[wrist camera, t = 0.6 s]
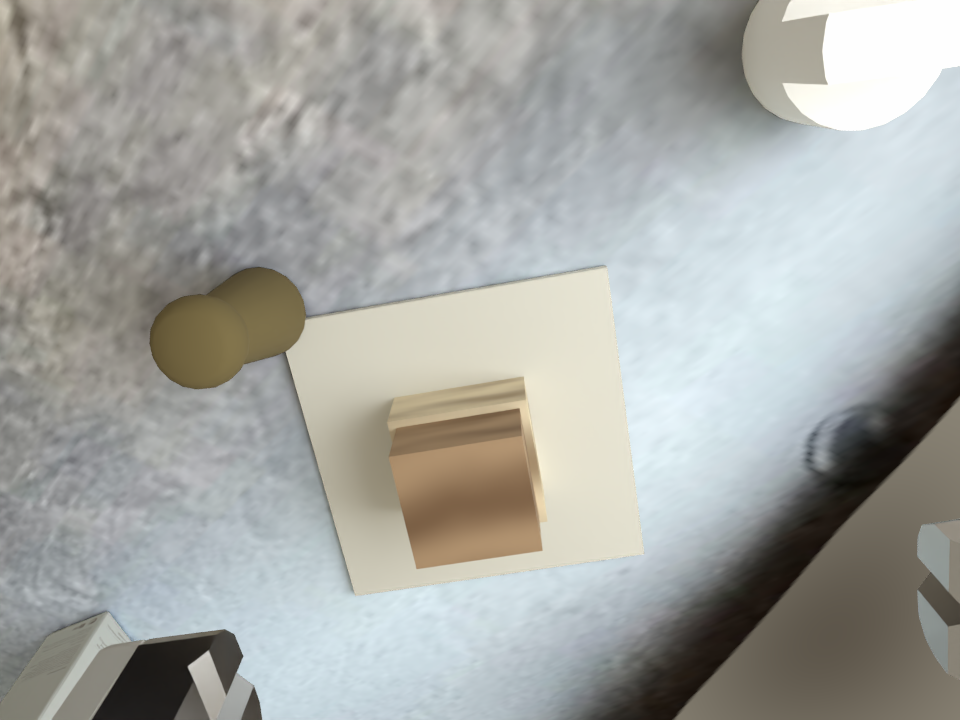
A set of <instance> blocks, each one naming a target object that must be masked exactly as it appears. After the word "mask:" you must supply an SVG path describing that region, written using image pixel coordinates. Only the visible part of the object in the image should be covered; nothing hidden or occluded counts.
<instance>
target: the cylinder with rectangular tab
mask: <svg viewBox="0 0 960 720" xmlns="http://www.w3.org/2000/svg"><path fill="white" fill-rule="evenodd" d="M742 61H743V68H744V75H745V78H746V80H747V82H748V85H749V87H750V89H751V91H752V94H753V95H754V96H755V97H756V98H757V100H758V101H759V102H760V103H761V104H762V106H763V107H764V108H765V109H767V110H768V111H770V112H771V113H773V114H775V115H776V116H778V117H779V118H781V119H785V120H788V121H792V122H796V123H799V124H805V125H811V126H817V127H823V128H829V129H835V130H864V129H868V128H872V127H875V126H879V125H883V124H885V123H887V122H889V121H891V120H893V119H894V118H896V117H898V116H900V115H902V114H903V113H905V112H906V111H907V110H909V109H910V108H911V107H912V106H913V105H914V104H915V103H917V102H918V101H919V100H920V99H921V98H922V97H923V96H924V95H925V94H926V92H927V91H928V90H929V88H930V87H931V86H932V84H933V83H934V81H935V80H936V79H937V77H938V76H939V74H940V72H941V69H942V68H949V67H956V66H960V0H759V2H758V3H757V5H756V6H755V8H754V10H753V11H752V13H751V15H750V18H749V21H748V24H747V27H746V30H745V32H744V38H743V48H742Z"/></svg>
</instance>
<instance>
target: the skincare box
mask: <svg viewBox="0 0 960 720" xmlns="http://www.w3.org/2000/svg"><path fill="white" fill-rule="evenodd" d="M126 642H132V641H131V640H130V639H129V638H128V636H127V635H126V634H125V632H124V631H123V630H122V629H121V627H120V626H119V625H118V624H117V622H116V621H115V620H114V618H113V617H112V616H111V614H110V613H109V612H104V613H102V614H99V615H97V616H95V617H92V618H90V619H87V620H84V621H82V622H79V623H76V624H74V625H71V626H68V627H66V628H64V629H61V630H58V631H56V632H53V633H52V634H51V635H49V636H48V637H47V638H46V639H45V641H44V642H43V643H42V645H41V646H40V648H39V649H38V650H37V652H36V653H35V655H34V656H33V657H32V659H31V660H30V662H29V663H28V665H27V666H26V667H25V669H24V670H23V672H22V673H21V675H20V676H19V677H18V679H17V680H16V682H15V683H14V685H13V686H12V687H11V689H10V690H9V692H8V693H7V695H6V696H5V697H4V699H3V700H2V702H1V703H0V720H51V719H52V718H53V716H54V715H55V714H56V712H57V711H58V709H59V708H60V706H61V705H62V704H63V702H64V701H65V699H66V698H67V696H68V695H69V693H70V692H71V691H72V689H73V688H74V686H75V685H76V683H77V682H78V681H79V679H80V678H81V676H82V675H83V673H84V672H85V670H86V669H87V668H88V666H89V665H90V663H91V662H92V660H93V659H94V658H95V656H96V655H97V653H98V652H99V650H101V649H103V648H105V647H107V646H110V645H113V644H119V643H126Z"/></svg>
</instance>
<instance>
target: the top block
mask: <svg viewBox="0 0 960 720" xmlns="http://www.w3.org/2000/svg"><path fill="white" fill-rule="evenodd" d="M389 461H390V465H391V469H392V473H393V477H394V481H395V485H396V489H397V493H398V497H399V501H400V505H401V509H402V513H403V517H404V521H405V525H406V529H407V533H408V537H409V541H410V545H411V549H412V553H413V557H414V561H415V565H416V569H422V568H429V567H436V566H442V565H449V564H456V563H463V562H470V561H476V560H483V559H490V558H497V557H504V556H511V555H517V554H524V553H531V552H538V551H543V549H542V539H541V530H540V520H539V513H538V507H537V502H536V496H535V491H534V485H533V480H532V474H531V469H530V463H529V458H528V452H527V446H526V441H525V435H524V430H523V424H522V419H521V413H520V408H517V409H511V410H505V411H499V412H493V413H486V414H480V415H474V416H468V417H462V418H455V419H449V420H443V421H437V422H431V423H424V424H418V425H412V426H406V427H399V428H396V431H395V435H394V439H393V442H392V446H391V450H390V453H389Z"/></svg>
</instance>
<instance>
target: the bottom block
mask: <svg viewBox="0 0 960 720" xmlns="http://www.w3.org/2000/svg"><path fill="white" fill-rule="evenodd" d="M517 408H520V413H521V419H522V424H523V430H524V435H525V441H526V446H527V452H528V458H529V463H530V469H531V474H532V480H533V485H534V491H535V496H536V502H537V507H538V513H539V520H540V523H541V522H548V521H547V512H546V504H545V496H544V489H543V483H542V478H541V472H540V466H539V461H538V455H537V449H536V444H535V438H534V432H533V426H532V421H531V415H530V409H529V404H528V398H527V392H526V387H525V381H524V376H523V377H517V378H511V379H505V380H499V381H493V382H487V383H481V384H475V385H469V386H462V387H456V388H450V389H444V390H438V391H432V392H426V393H420V394H414V395H408V396H401V397H395V398H394V401H393V404H392V407H391V411H390V414H389V417H388V421H387V424H388V428H389V432H390V436H391V440H392V442H393V439H394V435H395V431H396V428H399V427H406V426H412V425H418V424H424V423H431V422H437V421H443V420H449V419H455V418H462V417H468V416H474V415H480V414H486V413H493V412H499V411H505V410H511V409H517Z"/></svg>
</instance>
